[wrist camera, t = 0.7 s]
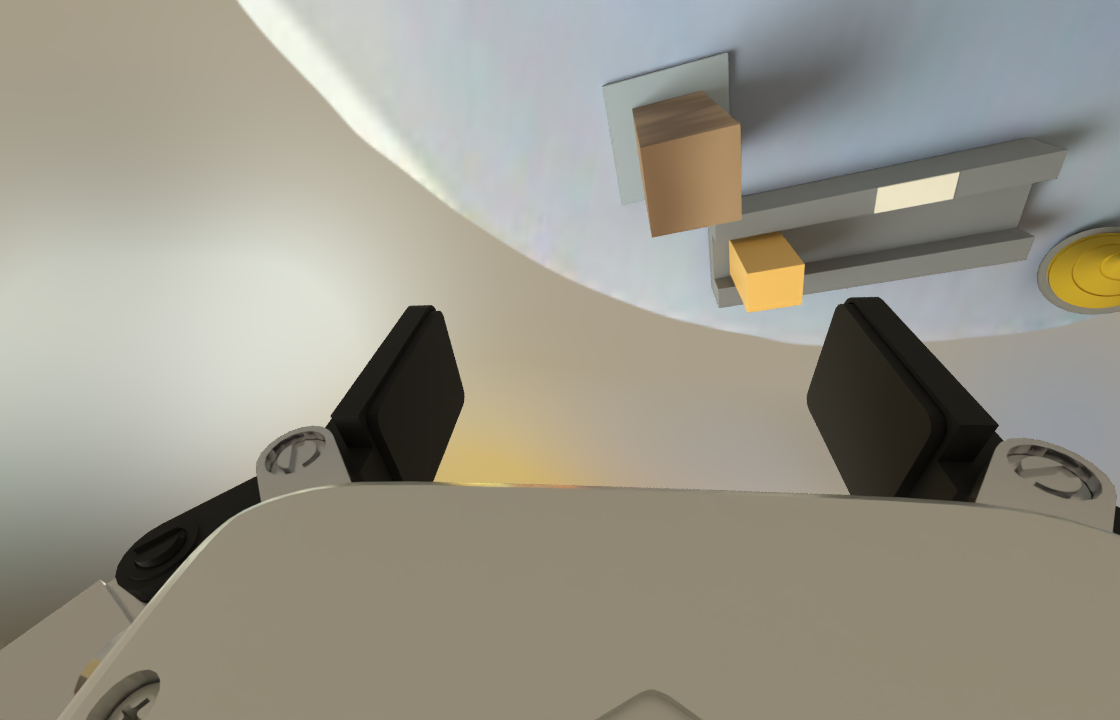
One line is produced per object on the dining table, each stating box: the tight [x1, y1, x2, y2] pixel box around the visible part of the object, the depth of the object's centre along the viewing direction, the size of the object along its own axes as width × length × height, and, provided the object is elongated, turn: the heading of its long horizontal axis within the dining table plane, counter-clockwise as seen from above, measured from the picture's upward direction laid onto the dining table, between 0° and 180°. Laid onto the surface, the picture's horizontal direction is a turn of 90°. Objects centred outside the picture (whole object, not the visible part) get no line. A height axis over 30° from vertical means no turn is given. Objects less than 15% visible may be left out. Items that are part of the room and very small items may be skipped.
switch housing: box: [708, 138, 1068, 308], centre depth 29 cm, size 18×6×3 cm, turn 104°
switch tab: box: [729, 231, 805, 313], centre depth 28 cm, size 3×3×5 cm
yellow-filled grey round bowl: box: [1037, 227, 1120, 315], centre depth 27 cm, size 5×5×10 cm
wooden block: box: [632, 91, 742, 237], centre depth 24 cm, size 4×4×10 cm
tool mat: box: [602, 52, 730, 205], centre depth 28 cm, size 7×7×1 cm
